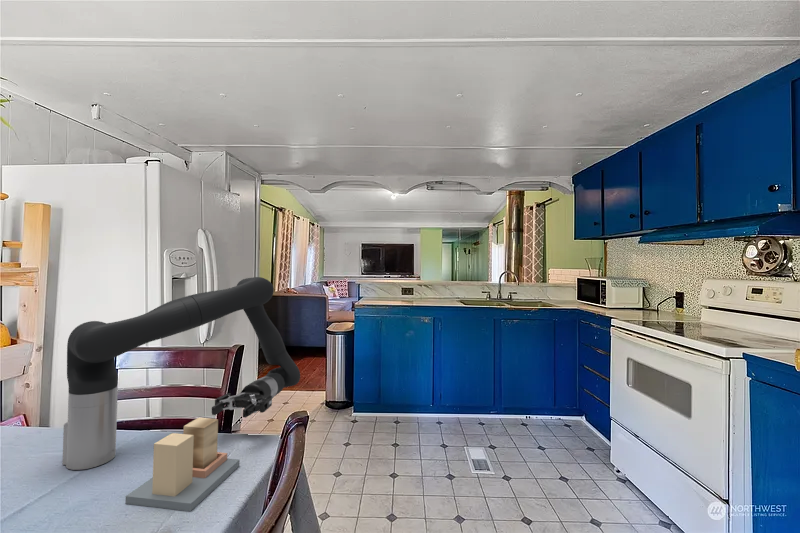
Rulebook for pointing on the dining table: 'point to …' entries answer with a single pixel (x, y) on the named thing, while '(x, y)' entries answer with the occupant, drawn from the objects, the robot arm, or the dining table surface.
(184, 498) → the base board
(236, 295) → the robot arm
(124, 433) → the dining table surface
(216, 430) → the maple pillar
